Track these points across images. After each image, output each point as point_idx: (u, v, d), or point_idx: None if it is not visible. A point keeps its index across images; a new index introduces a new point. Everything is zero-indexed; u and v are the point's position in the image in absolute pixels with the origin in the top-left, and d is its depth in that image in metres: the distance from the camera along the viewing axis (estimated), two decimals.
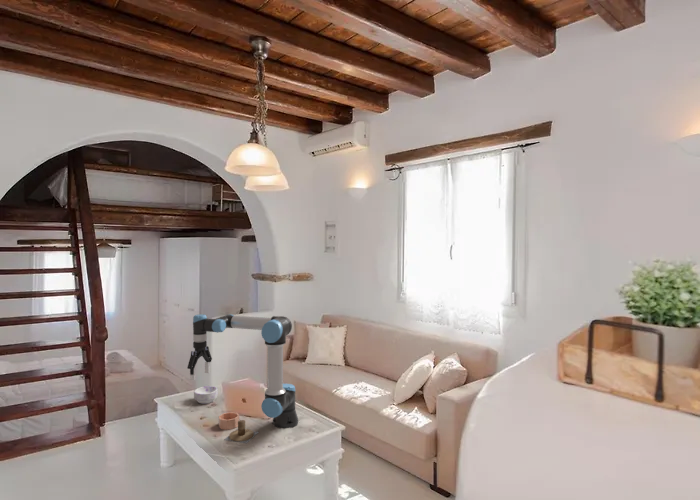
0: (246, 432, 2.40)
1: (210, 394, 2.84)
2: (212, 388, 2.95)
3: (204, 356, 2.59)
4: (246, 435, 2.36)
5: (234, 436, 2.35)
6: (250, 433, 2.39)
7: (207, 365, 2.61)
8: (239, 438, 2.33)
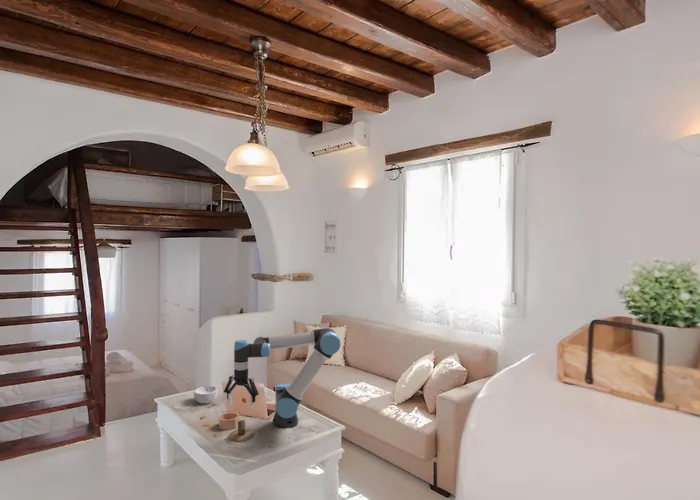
0: (246, 432, 2.40)
1: (210, 394, 2.84)
2: (212, 388, 2.95)
3: None
4: (246, 435, 2.36)
5: (234, 436, 2.35)
6: (250, 433, 2.39)
7: None
8: (239, 438, 2.33)
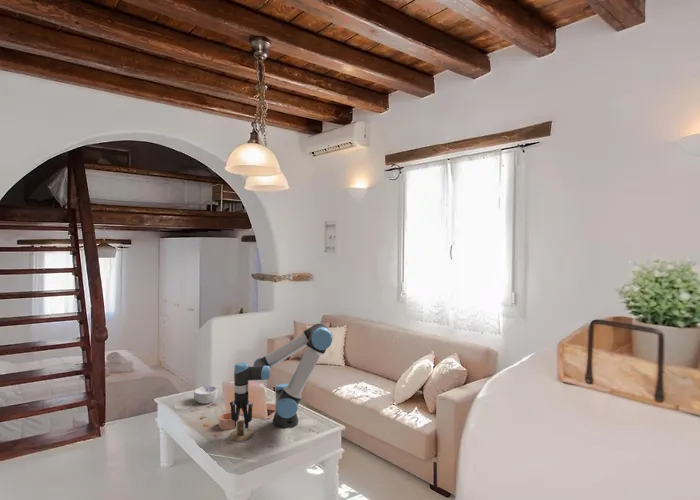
0: None
1: (210, 394, 2.84)
2: (212, 388, 2.95)
3: None
4: (246, 435, 2.36)
5: (234, 436, 2.35)
6: (250, 433, 2.39)
7: None
8: (239, 438, 2.33)
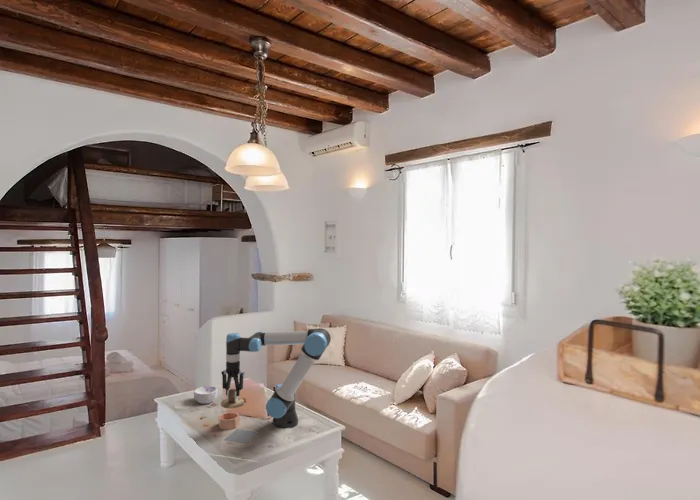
0: None
1: (210, 394, 2.84)
2: (212, 388, 2.95)
3: None
4: (237, 403, 2.44)
5: (226, 404, 2.43)
6: (241, 401, 2.47)
7: None
8: (230, 405, 2.41)
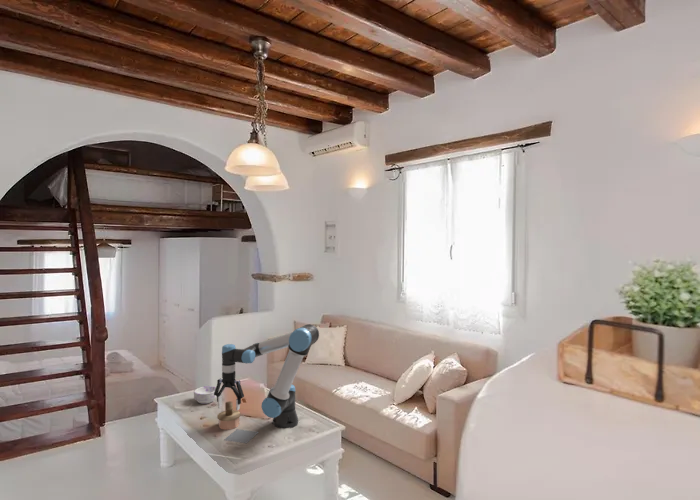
0: (233, 413, 2.53)
1: (210, 394, 2.84)
2: (212, 388, 2.95)
3: None
4: (233, 415, 2.50)
5: (222, 416, 2.48)
6: (237, 414, 2.52)
7: None
8: (226, 418, 2.46)
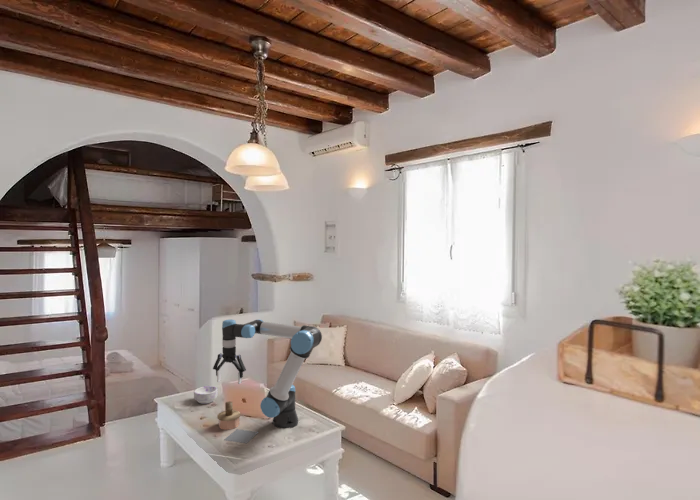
0: (233, 413, 2.53)
1: (210, 394, 2.84)
2: (212, 388, 2.95)
3: None
4: (233, 415, 2.50)
5: (222, 416, 2.48)
6: (237, 414, 2.52)
7: None
8: (226, 418, 2.46)
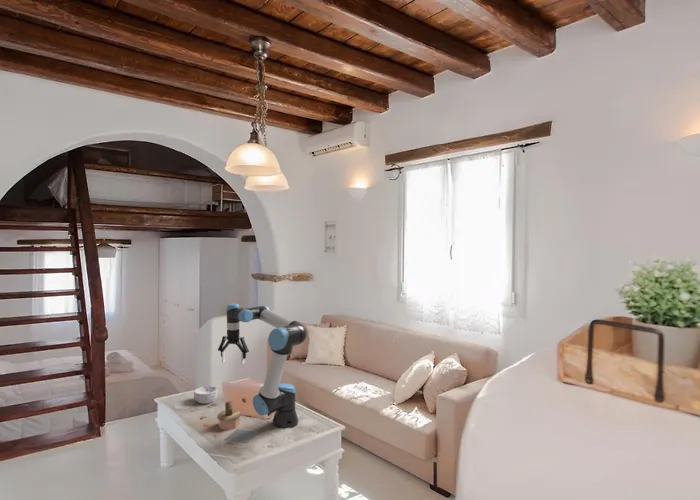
0: (233, 413, 2.53)
1: (210, 394, 2.84)
2: (212, 388, 2.95)
3: None
4: (233, 415, 2.50)
5: (222, 416, 2.48)
6: (237, 414, 2.52)
7: None
8: (226, 418, 2.46)
